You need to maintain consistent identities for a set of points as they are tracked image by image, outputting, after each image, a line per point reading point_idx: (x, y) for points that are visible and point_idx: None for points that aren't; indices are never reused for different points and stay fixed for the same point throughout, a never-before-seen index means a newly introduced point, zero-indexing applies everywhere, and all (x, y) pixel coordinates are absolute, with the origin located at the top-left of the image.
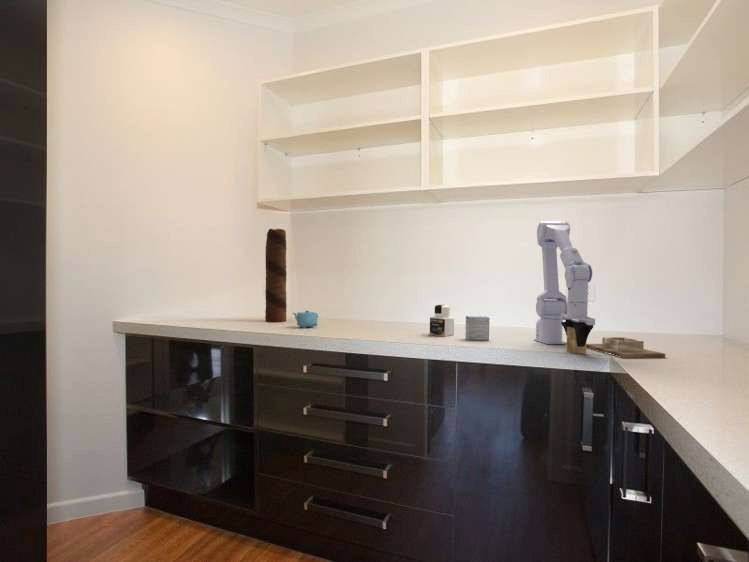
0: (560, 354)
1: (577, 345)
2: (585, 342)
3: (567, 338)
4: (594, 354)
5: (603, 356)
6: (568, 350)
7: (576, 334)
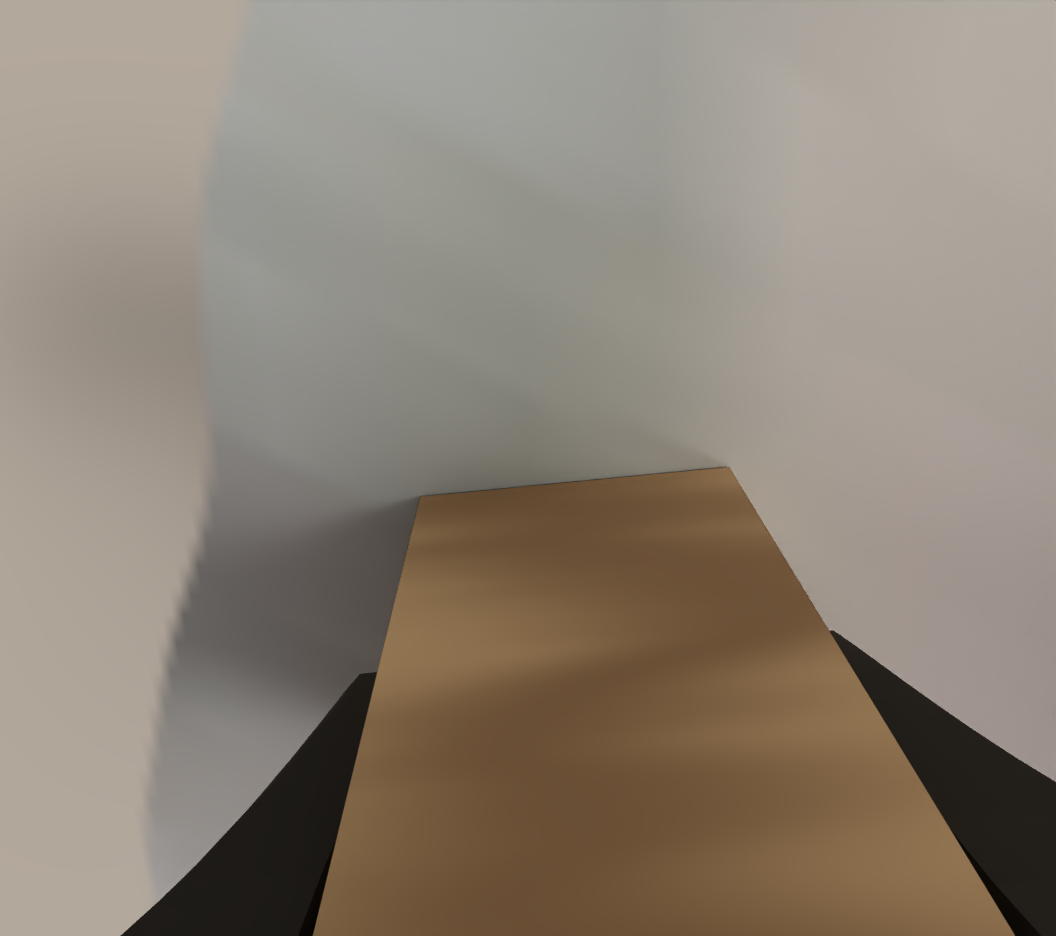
0: (351, 109)
1: None
2: None
3: (802, 654)
4: None
5: None
6: (658, 491)
7: (266, 900)
